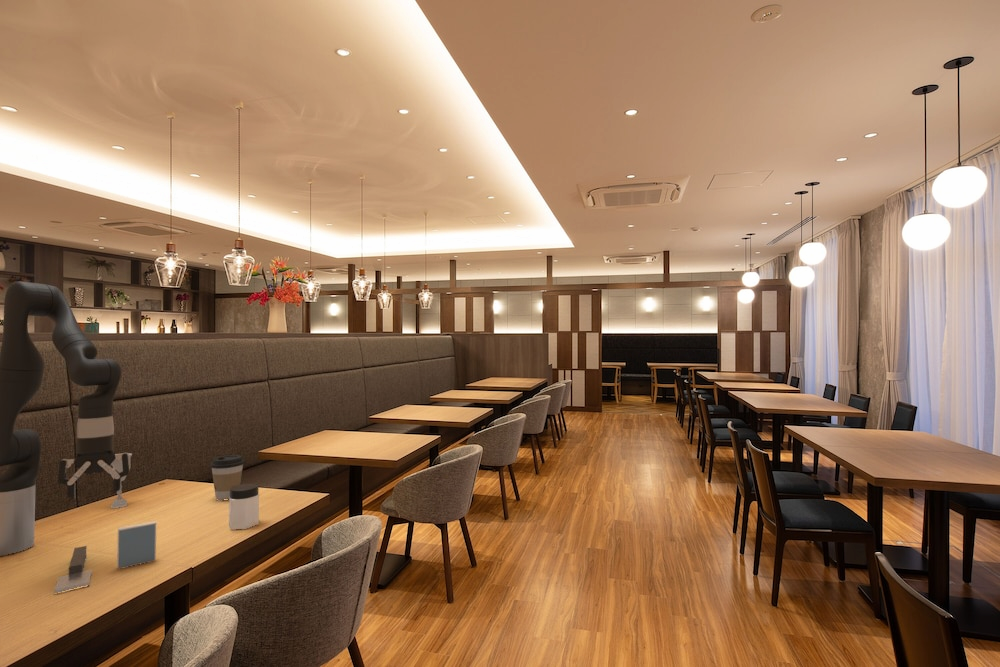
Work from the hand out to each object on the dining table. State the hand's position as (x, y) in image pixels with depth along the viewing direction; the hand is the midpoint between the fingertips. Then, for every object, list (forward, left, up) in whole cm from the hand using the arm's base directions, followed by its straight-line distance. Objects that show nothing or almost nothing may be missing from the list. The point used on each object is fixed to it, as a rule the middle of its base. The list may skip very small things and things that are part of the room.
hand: (94, 495), depth 126 cm
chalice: (+4, +54, -18) cm, 56 cm away
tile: (+9, -8, -17) cm, 21 cm away
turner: (-3, -5, -17) cm, 18 cm away
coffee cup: (+36, +40, -18) cm, 56 cm away
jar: (+36, +5, -18) cm, 40 cm away
